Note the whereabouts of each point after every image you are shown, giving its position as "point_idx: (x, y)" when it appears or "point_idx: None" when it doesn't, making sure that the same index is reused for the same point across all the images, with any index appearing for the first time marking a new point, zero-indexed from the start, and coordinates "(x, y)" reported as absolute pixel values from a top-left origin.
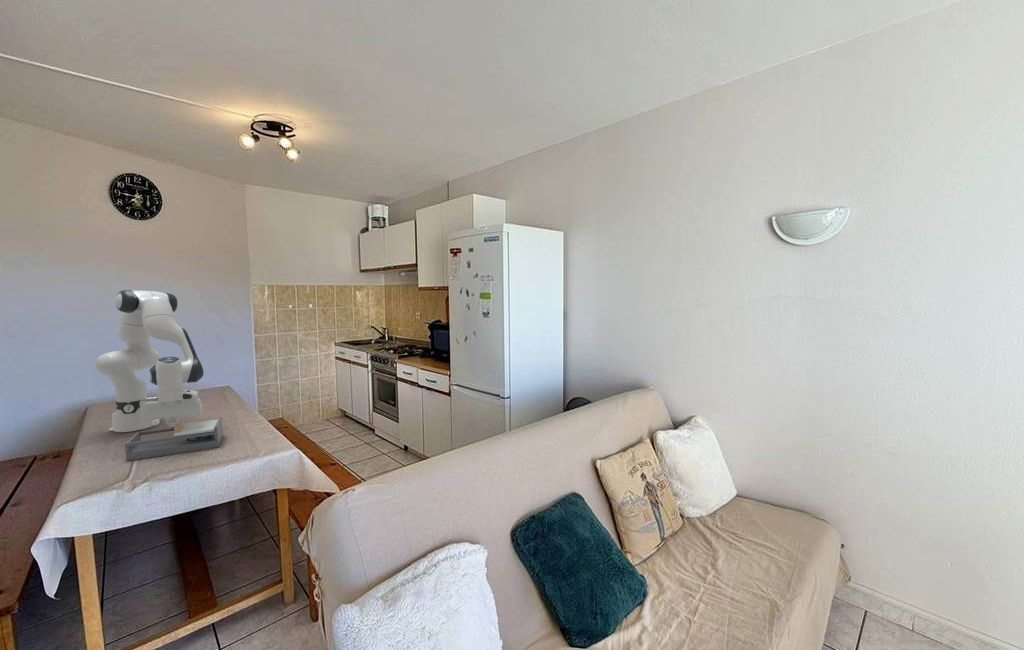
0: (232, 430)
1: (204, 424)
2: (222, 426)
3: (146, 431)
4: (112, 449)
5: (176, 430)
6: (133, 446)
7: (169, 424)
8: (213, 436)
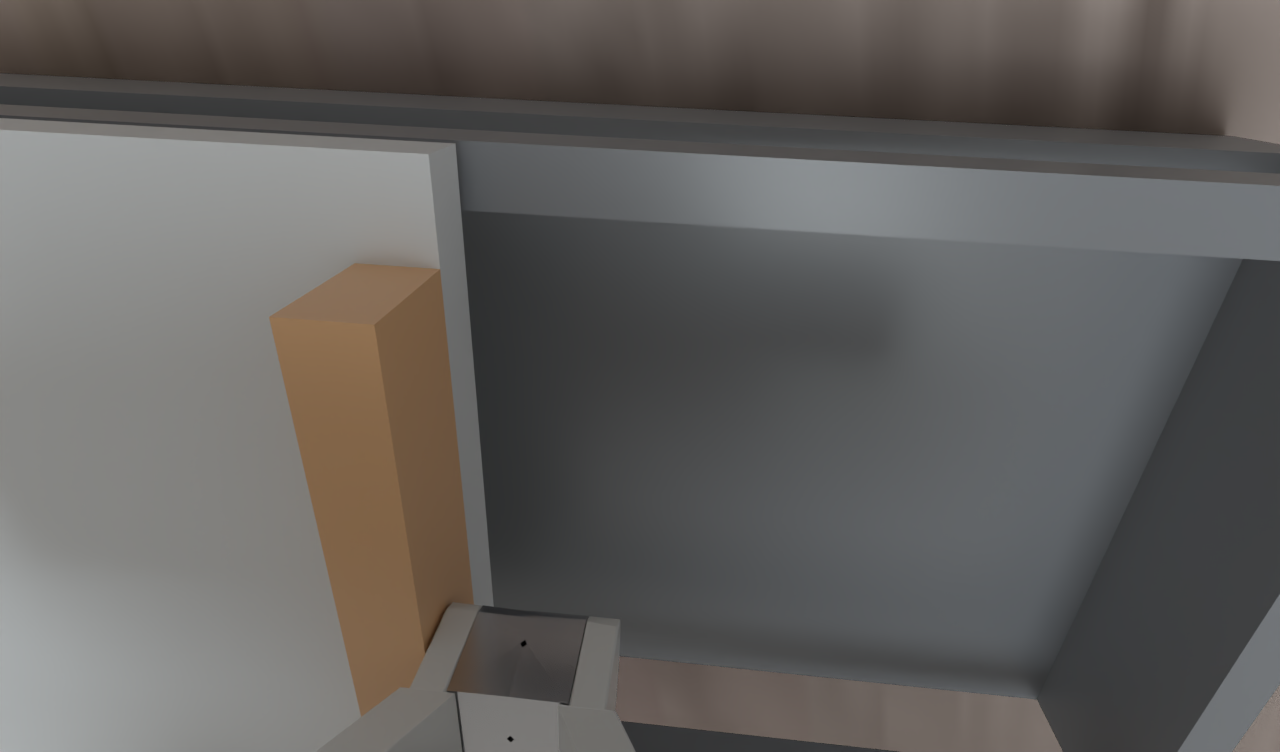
0: None
1: (26, 604)
2: None
3: None
4: (1267, 724)
5: (354, 286)
6: (1190, 435)
7: (587, 697)
8: None
